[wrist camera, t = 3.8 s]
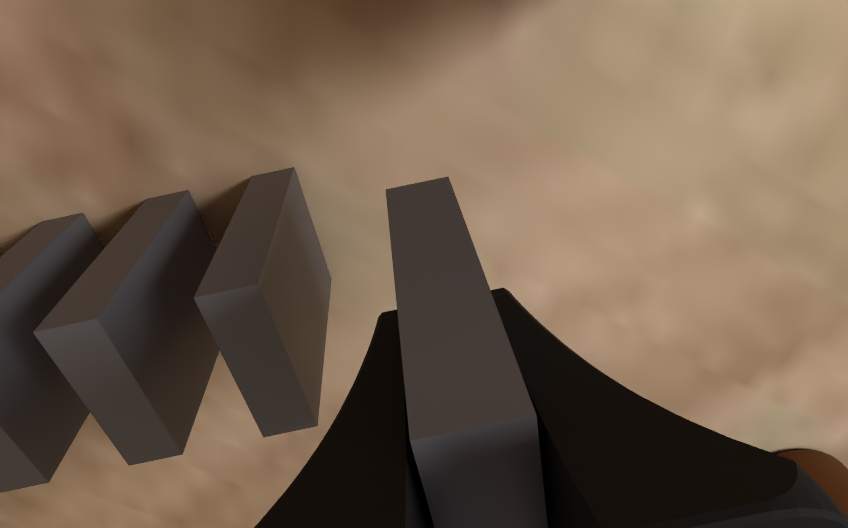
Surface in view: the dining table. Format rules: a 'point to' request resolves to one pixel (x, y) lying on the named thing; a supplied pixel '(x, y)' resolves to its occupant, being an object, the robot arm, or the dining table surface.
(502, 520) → the domino
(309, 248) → the domino
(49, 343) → the domino
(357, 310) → the dining table surface
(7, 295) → the domino
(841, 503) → the mug
